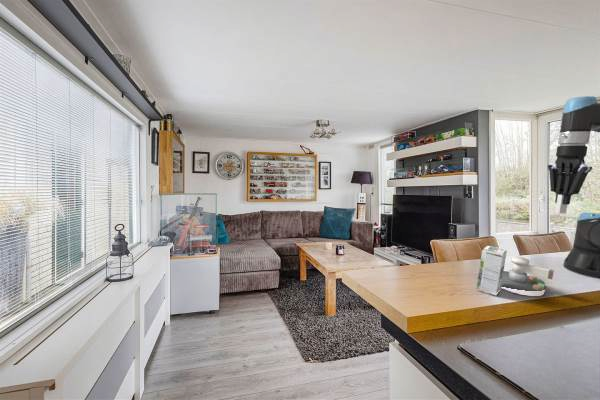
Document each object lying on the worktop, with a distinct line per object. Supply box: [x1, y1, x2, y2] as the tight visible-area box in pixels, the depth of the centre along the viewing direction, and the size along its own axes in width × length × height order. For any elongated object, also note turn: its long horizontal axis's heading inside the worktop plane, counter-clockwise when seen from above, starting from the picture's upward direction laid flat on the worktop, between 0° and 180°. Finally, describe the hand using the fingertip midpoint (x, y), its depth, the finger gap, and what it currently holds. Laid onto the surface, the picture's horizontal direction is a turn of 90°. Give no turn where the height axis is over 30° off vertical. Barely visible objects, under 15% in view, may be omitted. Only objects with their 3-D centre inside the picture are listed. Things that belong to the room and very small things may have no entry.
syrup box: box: [475, 245, 508, 293], centre depth 91 cm, size 6×6×14 cm
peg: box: [510, 256, 555, 280], centre depth 93 cm, size 11×5×4 cm, turn 43°
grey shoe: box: [501, 269, 547, 291], centre depth 96 cm, size 15×15×5 cm
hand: (560, 212), depth 99 cm, fingers closed
